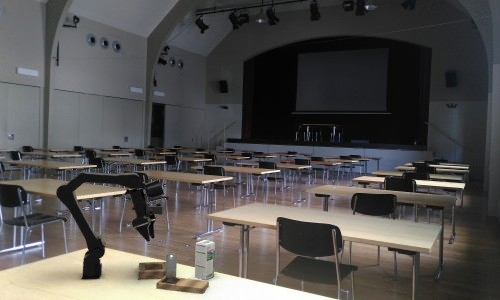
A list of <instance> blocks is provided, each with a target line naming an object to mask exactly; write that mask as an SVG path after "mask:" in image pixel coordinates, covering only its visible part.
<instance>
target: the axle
mask: <svg viewBox="0 0 500 300" xmlns="http://www.w3.org/2000/svg"><path fill="white" fill-rule="evenodd" d="M165 255H166V256H165V262H166V277H165V283H169V284H176V277H177V265H178V264H177V263H178V254H177V253H173V252H172V253H171V252H170V253H167V254H165Z"/></svg>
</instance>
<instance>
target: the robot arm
mask: <svg viewBox="0 0 500 300" xmlns="http://www.w3.org/2000/svg"><path fill="white" fill-rule="evenodd" d="M160 181H161V180H159V179H158V178H157V179H155V180H154V181H150V182H145V181H144V180H142V179H141V177H140V176H139V174H138V173H136V172H133V171H132V172H124V173H104V172H103V173H102V172H101V173H100V172H92V171H91V172H89V171H85V170H84V171H80V173H78V174H77V175H76V176H75V177H73V178H72V179H71V180H70V181H68V182H64V183H62V184H60V185H59V186H58V188H56V192H55V195H56V198H58V200H59V201H60V202H61V203H62V204H63V205H64V206H65V207H66V208H67V210H68V211H69V213H70V214H71V216H72V218H73V219H74V222H75V223H76V225H77V227H78V229H79V230H80V233H81V234H82V236H83V237H84V239H85V243H86V247H87V251H85V253H84V254H83V255H84V256H83V262H82V276H81V280H93V279H100V278H101V276H102V274H103V263H102V262H101V258H103V257H104V255H105V253H106V244H107V243H106V241H105V240H104V239H103V236H102V234H100V235H97V234H96V232H95V231H94V229H93V228H92V225H91V224H90V222H89V220H88V219H87V217H86V215H85V213H84V210H83V209H82V208H81V206H80V204H79V201H78V198H77V194H76V190H77V189H78V188H80V187H81V186H82V185H83V184H84V183H95V184H110V185H111V184H112V185H117V186H121V187H125V188H126V190H125V192H124V196H129V199H130V200H131V204H132V209H131V210H132V211H134V214H135V217H134V219H133V220H132V221H131V224H132V228H134V229H135V231H137V233H139V234H140V236H142V238H143V239H144V240H145V241H146V242H147V243H148V242H151V239H155V237H156V236H155V223H156V221H157V219H158V217H157V215H159V216H162V215H164V211H165V208H164V207H165V206H164V205H162V203H155V205H151V204H150V203H149V202H148V200H147V198H149V199H150V200H152V199H157V198H159V197H162V196H164V195H165V192H164V189H163V186H162V185H161V182H160ZM137 188H139V189H137ZM145 193H146V195H145ZM146 197H147V198H146Z"/></svg>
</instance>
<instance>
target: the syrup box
mask: <svg viewBox="0 0 500 300" xmlns="http://www.w3.org/2000/svg"><path fill="white" fill-rule="evenodd" d="M194 248H195V252H194V254H195V255H194V256H195V257H194V259H195V260H194V262H195V263H194V278H197V279H198V280H204V281H208V279H211V278H213V277H215V256H216V255H215V252H216V251H215V249H216V242H215V241H214V240H208V239H203V240H201V241H197V242H195V247H194Z"/></svg>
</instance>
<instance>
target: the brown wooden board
mask: <svg viewBox="0 0 500 300" xmlns="http://www.w3.org/2000/svg"><path fill="white" fill-rule="evenodd" d="M165 277H166V276H164V277H163V278H162V279H158V281H157V282H156V285H155V287H156V288H155V289H158V290H167V291H175V292H185V293H191V294H192V293H193V294H199V295H200V294H201V295H203V294H204V293H205V292H206V291H207V289H208V288H209V286H210V282H209V280H203V279H194V278H186V277H184V278H183V277H178V276H176V284H169V283H165Z"/></svg>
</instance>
